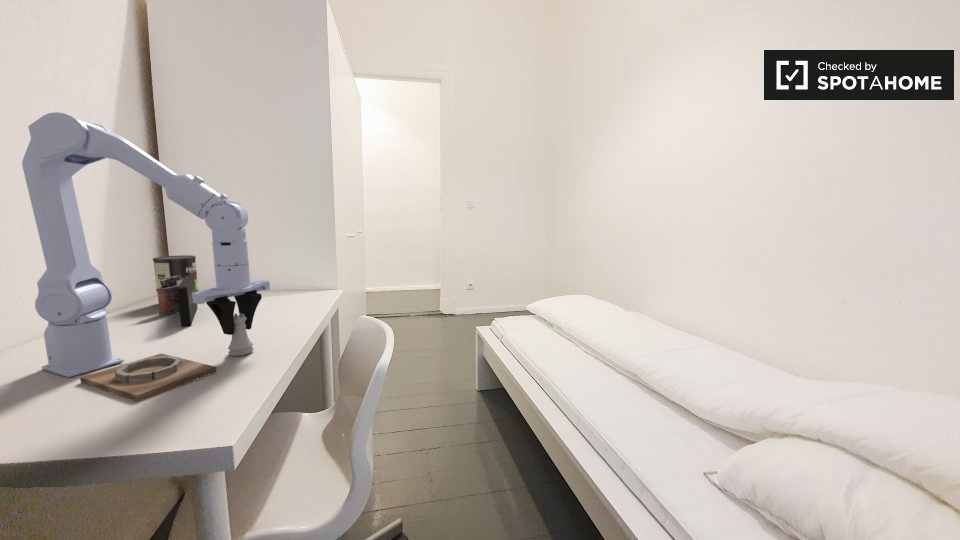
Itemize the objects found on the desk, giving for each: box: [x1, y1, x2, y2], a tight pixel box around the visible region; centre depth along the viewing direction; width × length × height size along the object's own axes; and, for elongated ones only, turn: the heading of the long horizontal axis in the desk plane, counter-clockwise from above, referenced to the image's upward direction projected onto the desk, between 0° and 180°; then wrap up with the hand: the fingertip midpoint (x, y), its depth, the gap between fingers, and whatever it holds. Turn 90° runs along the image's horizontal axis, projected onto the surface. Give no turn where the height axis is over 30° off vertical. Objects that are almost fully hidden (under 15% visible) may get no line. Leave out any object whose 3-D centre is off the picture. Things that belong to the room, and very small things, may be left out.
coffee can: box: [152, 254, 199, 305], centre depth 120 cm, size 10×10×14 cm
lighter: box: [155, 276, 180, 317], centre depth 109 cm, size 8×3×10 cm, turn 179°
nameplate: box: [178, 275, 198, 328], centre depth 105 cm, size 21×2×10 cm, turn 32°
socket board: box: [79, 352, 217, 403], centre depth 68 cm, size 16×12×2 cm
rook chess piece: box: [227, 312, 255, 357], centre depth 79 cm, size 4×4×8 cm
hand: (237, 331), depth 79 cm, fingers closed on rook chess piece, 3 cm apart
